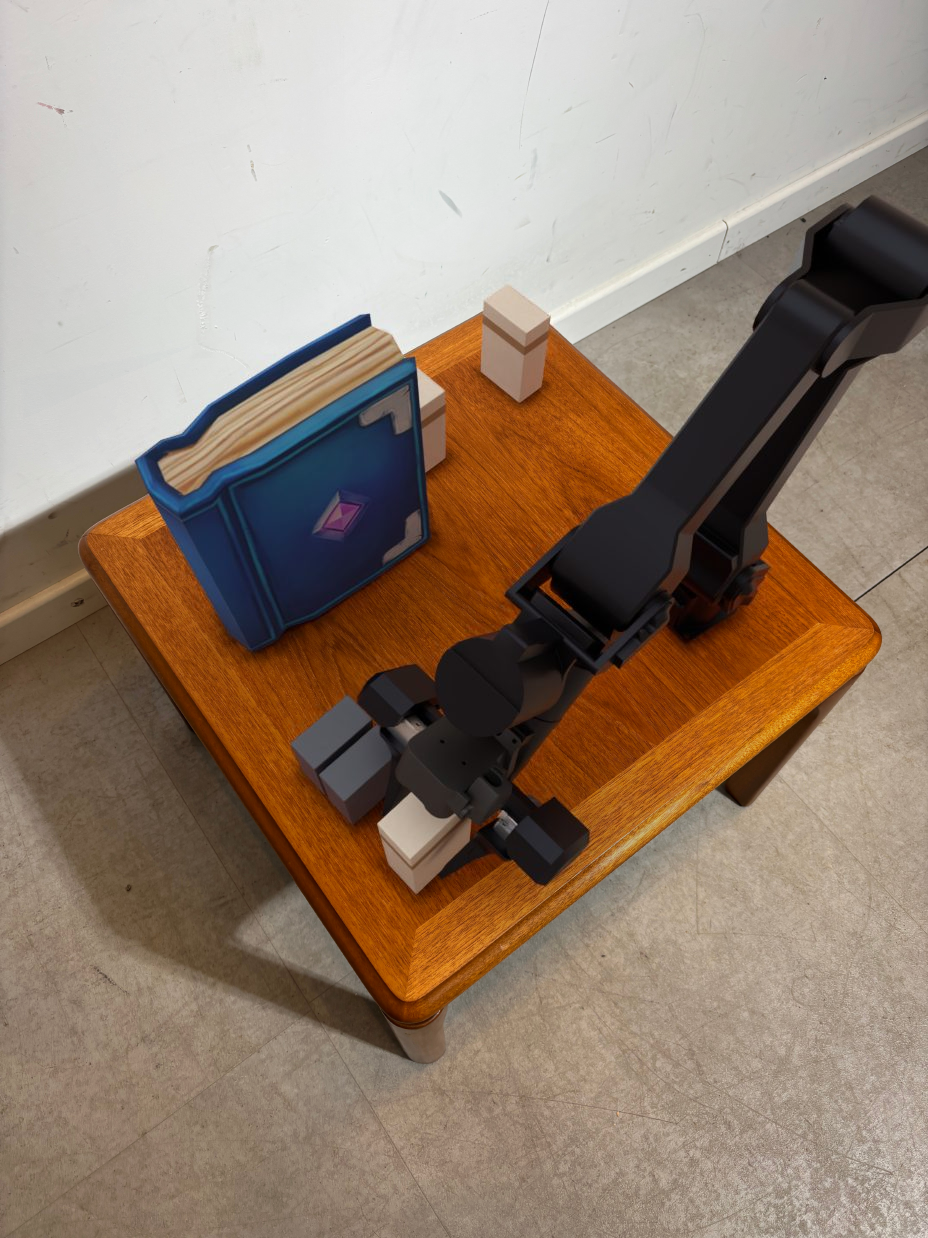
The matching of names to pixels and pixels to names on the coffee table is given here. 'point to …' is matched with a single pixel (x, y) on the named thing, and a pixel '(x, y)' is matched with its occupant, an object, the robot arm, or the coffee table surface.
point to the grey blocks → (346, 758)
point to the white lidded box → (420, 841)
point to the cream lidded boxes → (493, 362)
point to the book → (298, 482)
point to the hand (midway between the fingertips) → (413, 845)
